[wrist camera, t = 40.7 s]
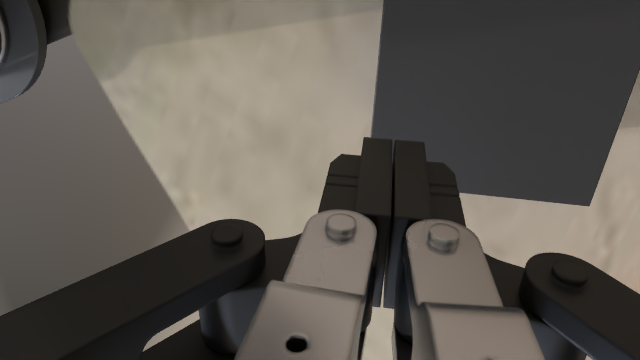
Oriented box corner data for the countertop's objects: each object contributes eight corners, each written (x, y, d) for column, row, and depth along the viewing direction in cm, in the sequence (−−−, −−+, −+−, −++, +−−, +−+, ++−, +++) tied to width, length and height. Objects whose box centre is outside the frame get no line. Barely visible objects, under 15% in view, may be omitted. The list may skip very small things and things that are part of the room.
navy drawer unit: (398, -121, 30) (396, -127, 22) (620, -113, 28) (708, -116, 20) (374, 120, 38) (366, 183, 29) (547, 136, 36) (589, 206, 28)
